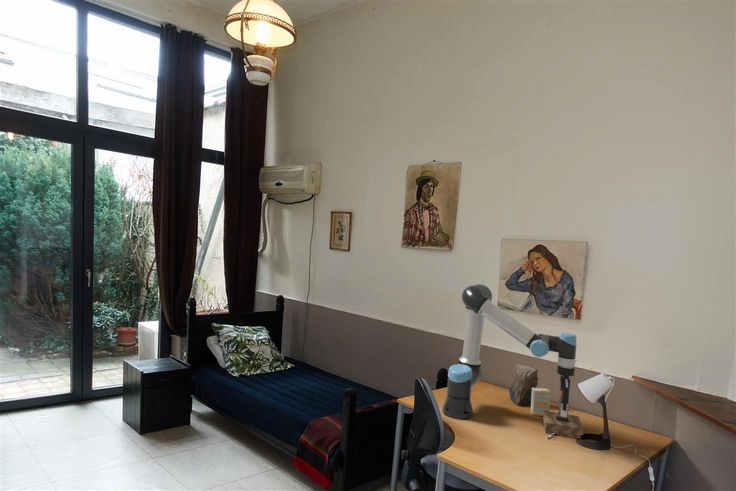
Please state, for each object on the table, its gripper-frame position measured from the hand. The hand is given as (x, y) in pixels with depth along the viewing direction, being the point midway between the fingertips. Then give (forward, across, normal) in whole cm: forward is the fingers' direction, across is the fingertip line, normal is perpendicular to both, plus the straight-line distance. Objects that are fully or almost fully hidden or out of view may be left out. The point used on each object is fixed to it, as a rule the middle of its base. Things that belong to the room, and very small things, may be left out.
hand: (563, 414), depth 217 cm
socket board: (+7, 0, 0) cm, 7 cm away
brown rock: (+7, +30, +18) cm, 36 cm away
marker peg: (+3, 0, 0) cm, 3 cm away
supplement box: (+7, +16, +9) cm, 20 cm away
